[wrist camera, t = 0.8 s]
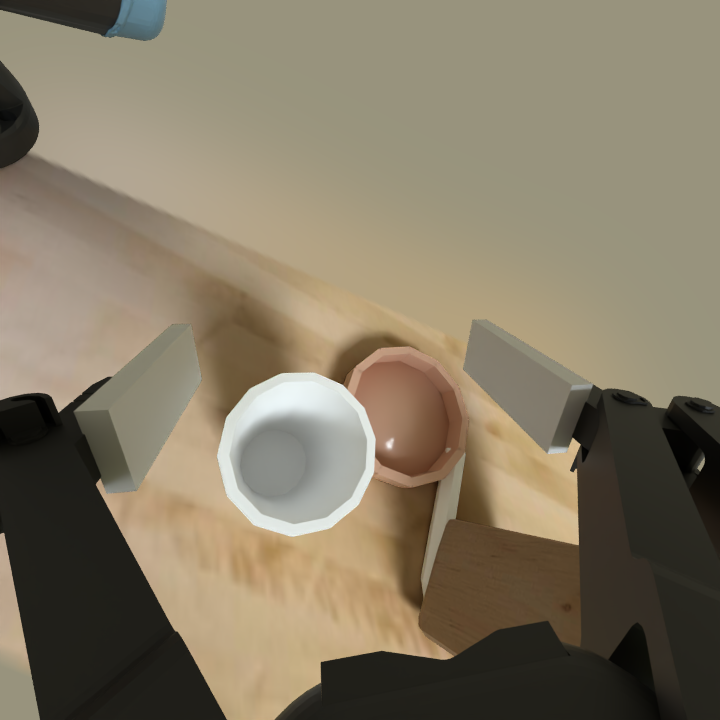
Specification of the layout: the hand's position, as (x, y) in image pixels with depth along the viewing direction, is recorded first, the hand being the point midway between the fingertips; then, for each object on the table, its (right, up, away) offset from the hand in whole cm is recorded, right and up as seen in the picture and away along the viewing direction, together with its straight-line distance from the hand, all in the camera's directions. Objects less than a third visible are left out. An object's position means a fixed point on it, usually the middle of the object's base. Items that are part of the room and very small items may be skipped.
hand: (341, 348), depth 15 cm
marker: (+9, -18, +19) cm, 28 cm away
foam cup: (-7, -10, +15) cm, 20 cm away
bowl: (+5, -7, +22) cm, 23 cm away
